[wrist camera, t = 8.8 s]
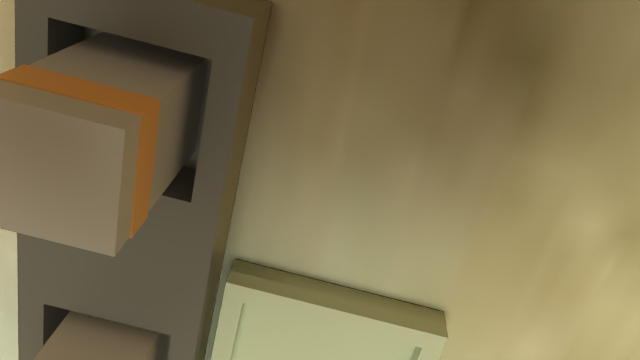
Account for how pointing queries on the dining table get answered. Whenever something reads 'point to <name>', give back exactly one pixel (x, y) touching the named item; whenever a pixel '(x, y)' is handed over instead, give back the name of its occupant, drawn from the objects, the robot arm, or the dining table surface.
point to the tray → (319, 321)
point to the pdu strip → (187, 204)
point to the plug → (101, 341)
